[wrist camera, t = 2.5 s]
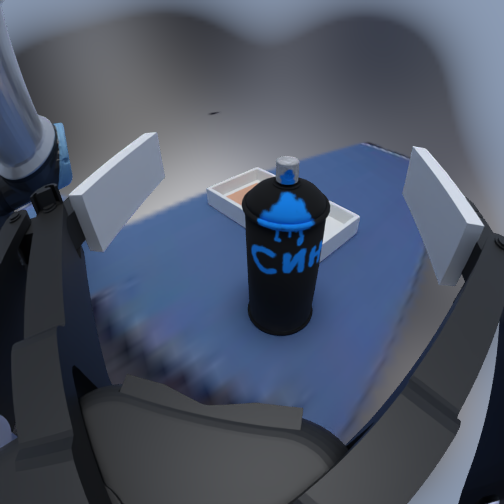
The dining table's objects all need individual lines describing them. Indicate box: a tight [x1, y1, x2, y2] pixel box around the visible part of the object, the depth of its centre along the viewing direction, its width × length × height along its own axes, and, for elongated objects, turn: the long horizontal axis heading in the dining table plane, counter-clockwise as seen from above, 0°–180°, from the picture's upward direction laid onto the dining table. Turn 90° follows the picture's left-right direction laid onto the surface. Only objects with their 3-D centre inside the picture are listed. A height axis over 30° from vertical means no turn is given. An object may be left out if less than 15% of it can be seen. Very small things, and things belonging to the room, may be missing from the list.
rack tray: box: [206, 167, 360, 263], centre depth 52 cm, size 25×13×4 cm, turn 42°
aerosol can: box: [242, 156, 330, 335], centre depth 31 cm, size 8×8×20 cm
